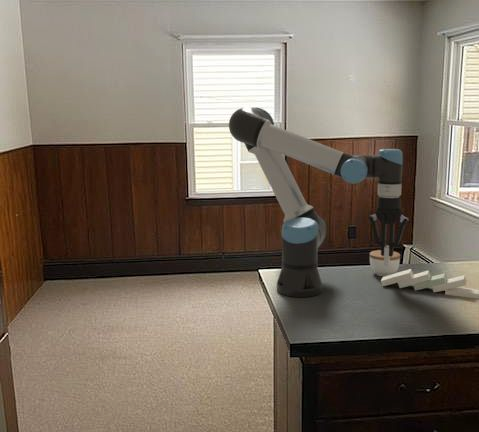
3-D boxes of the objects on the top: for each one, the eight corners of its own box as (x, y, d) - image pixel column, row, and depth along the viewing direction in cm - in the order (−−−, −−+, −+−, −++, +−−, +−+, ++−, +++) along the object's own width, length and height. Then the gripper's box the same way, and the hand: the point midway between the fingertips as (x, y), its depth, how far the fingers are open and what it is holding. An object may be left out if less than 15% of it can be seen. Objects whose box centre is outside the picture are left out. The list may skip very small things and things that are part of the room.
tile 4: (431, 286, 169) (463, 279, 165) (433, 282, 174) (464, 275, 169) (433, 292, 169) (466, 285, 165) (435, 288, 174) (466, 281, 169)
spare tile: (412, 284, 172) (443, 277, 167) (414, 280, 176) (444, 273, 172) (414, 290, 172) (445, 283, 167) (416, 286, 176) (447, 278, 172)
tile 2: (397, 282, 174) (427, 274, 170) (399, 278, 179) (428, 270, 174) (399, 288, 174) (429, 279, 170) (401, 284, 179) (430, 275, 174)
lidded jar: (403, 272, 192) (404, 247, 190) (394, 280, 183) (395, 254, 181) (374, 268, 197) (375, 244, 196) (364, 276, 189) (365, 250, 187)
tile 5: (445, 290, 168) (479, 294, 163) (447, 285, 172) (480, 289, 167) (445, 296, 168) (479, 300, 163) (446, 291, 172) (480, 295, 168)
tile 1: (380, 281, 176) (409, 272, 172) (382, 276, 181) (411, 268, 177) (382, 286, 176) (412, 278, 172) (384, 282, 181) (413, 274, 177)
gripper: (366, 196, 172) (364, 266, 177) (407, 198, 167) (404, 270, 171) (371, 193, 179) (369, 260, 183) (411, 195, 173) (408, 264, 178)
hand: (386, 265), depth 177 cm, fingers closed
